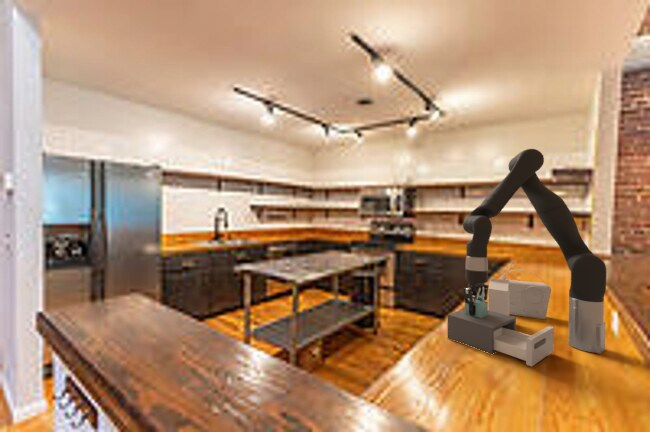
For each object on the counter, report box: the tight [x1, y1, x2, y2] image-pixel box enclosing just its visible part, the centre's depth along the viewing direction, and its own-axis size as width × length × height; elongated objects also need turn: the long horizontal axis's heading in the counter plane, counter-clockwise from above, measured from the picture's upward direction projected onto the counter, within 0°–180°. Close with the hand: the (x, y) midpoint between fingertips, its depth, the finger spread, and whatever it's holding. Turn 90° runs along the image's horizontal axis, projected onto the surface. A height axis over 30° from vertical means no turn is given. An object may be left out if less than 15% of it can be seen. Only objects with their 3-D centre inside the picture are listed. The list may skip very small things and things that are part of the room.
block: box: [464, 299, 489, 318], centre depth 111 cm, size 6×5×5 cm
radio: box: [498, 261, 552, 320], centre depth 139 cm, size 22×8×25 cm, turn 62°
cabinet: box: [447, 308, 517, 355], centre depth 110 cm, size 16×18×9 cm
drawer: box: [494, 325, 555, 367], centre depth 100 cm, size 16×18×8 cm
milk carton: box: [488, 277, 510, 316], centre depth 128 cm, size 7×7×19 cm
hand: (476, 313), depth 111 cm, fingers closed on block, 5 cm apart
